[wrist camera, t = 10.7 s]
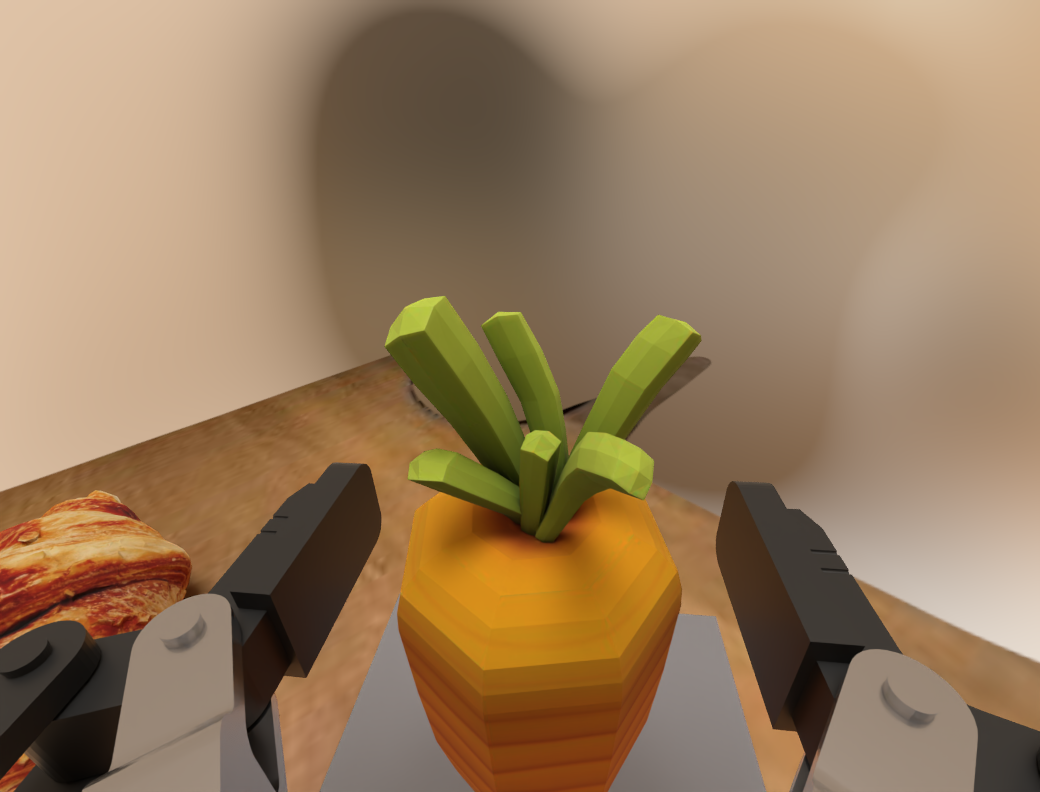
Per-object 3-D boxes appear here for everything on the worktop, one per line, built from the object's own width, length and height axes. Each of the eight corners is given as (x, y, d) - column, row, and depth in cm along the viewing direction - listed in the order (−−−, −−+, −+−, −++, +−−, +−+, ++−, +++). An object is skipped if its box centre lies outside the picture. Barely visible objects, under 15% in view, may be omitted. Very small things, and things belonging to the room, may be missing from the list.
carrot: (638, 739, 14) (732, 253, 7) (616, 980, 10) (784, 424, 3) (491, 690, 16) (441, 242, 8) (421, 883, 12) (203, 348, 4)
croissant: (78, 578, 31) (-70, 521, 25) (206, 471, 33) (92, 399, 28) (-26, 1008, 15) (-474, 1085, 10) (236, 746, 17) (-19, 696, 12)
